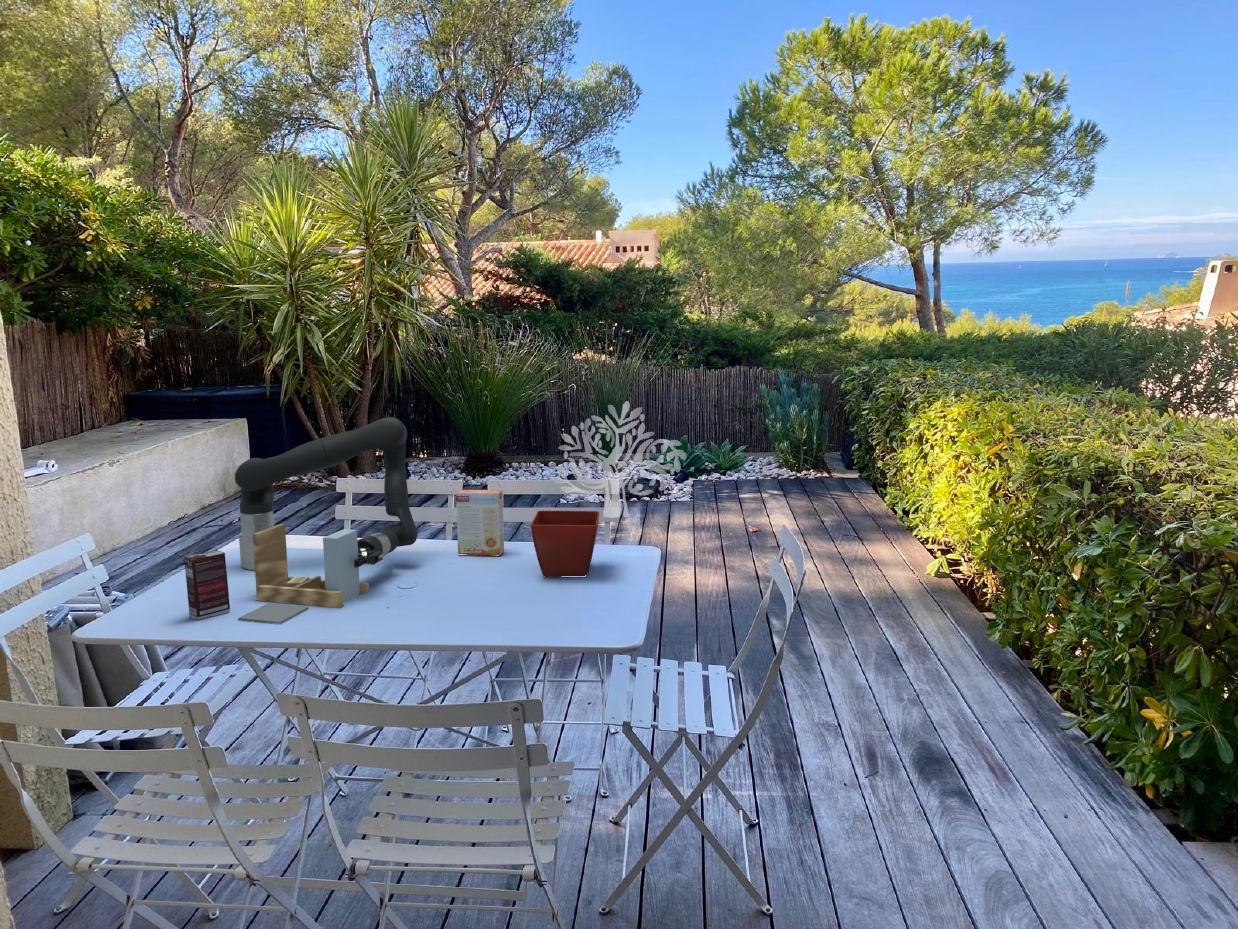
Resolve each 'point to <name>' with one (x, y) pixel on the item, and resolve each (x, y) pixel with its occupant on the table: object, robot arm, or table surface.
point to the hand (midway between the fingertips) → (340, 563)
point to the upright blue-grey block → (341, 563)
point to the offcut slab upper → (296, 581)
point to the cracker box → (480, 522)
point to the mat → (273, 613)
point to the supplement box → (207, 584)
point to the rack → (275, 574)
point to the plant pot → (564, 541)
